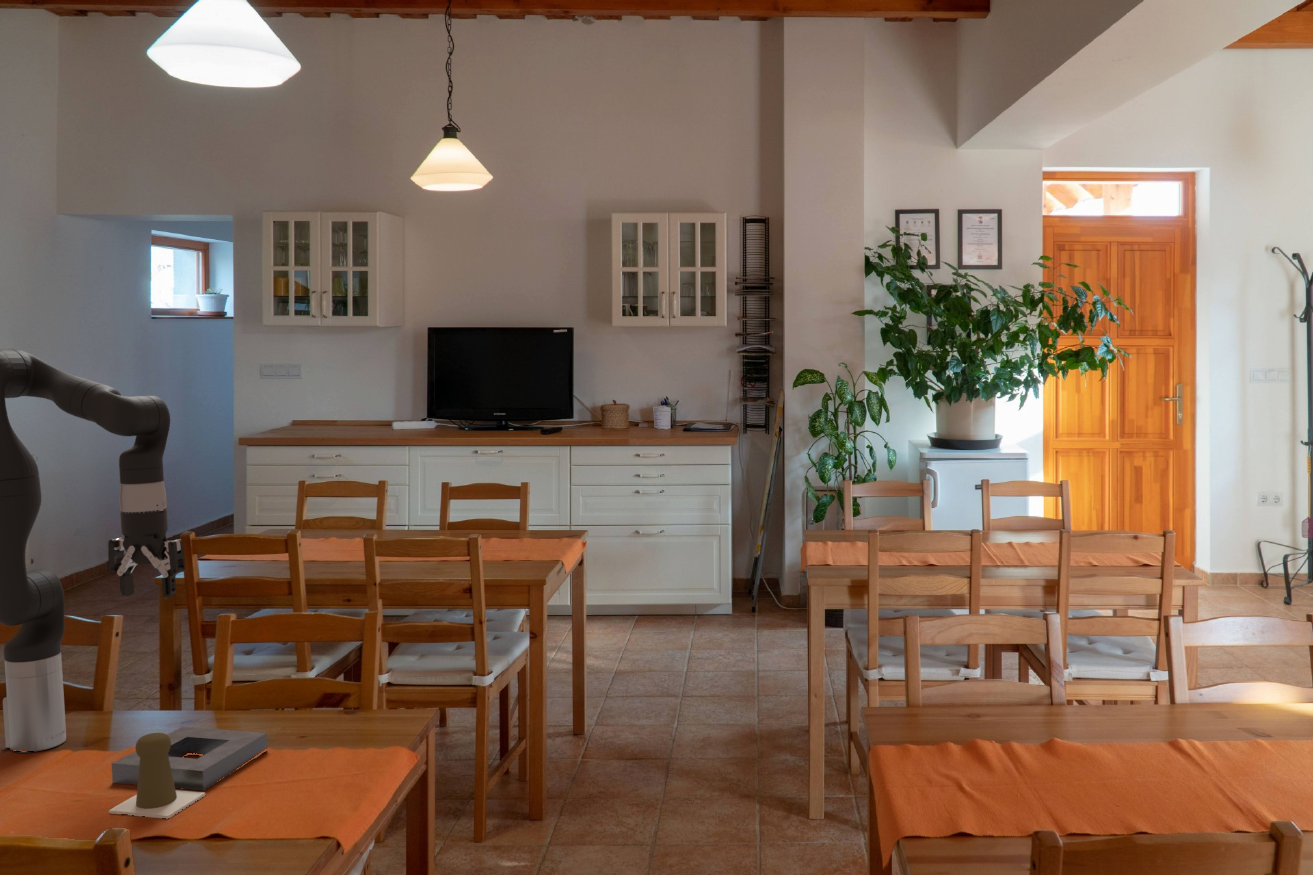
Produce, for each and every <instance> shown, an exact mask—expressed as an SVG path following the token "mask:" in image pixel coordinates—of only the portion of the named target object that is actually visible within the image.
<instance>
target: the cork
mask: <svg viewBox="0 0 1313 875" xmlns="http://www.w3.org/2000/svg"><path fill="white" fill-rule="evenodd" d="M170 747H171V740H170V737H169V736H168V735H167V733H164V732H151V733H148V734H145V735H142V736H141V737H140V738H138V739H137V741H136V742H135V751H136V753H137V755H138V756H139V757H140V764H139V775H138V785H137V788H136V789H137V790H136V794H137V798H136V806H137V807H139V808H143V809H152V808H158V807H162V806H165V805H168V804H170V803H172V802H174V801H175V800H176V798H177V795H176V790H177V789H175V786H174V781H173V776H172V771H171V766H170V761H169V756H168V752H169V750H170Z"/></svg>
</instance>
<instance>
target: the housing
mask: <svg viewBox="0 0 1313 875" xmlns="http://www.w3.org/2000/svg"><path fill="white" fill-rule="evenodd" d="M166 734H167V733H166ZM167 735H168V736H169V737H170V740H171V747H170V750H169V752H168V756H169V761H170V766H171V771H172V776H173V781H174V786H175V788H183V789H182V790H185V789H191V790H190V791H196V790H205V791H207V790H208V789H209V787H210V786H211V787H213V786H214V785H216V784H217V783H216V782H217V781H219V780H220V779H222V778H223V777H225V776H227V775H229V774H230V773H232V772H233V771H235V770H236V769H237V768H239V767H241V766H242V765H243V764H245V763H246V762H248V761H249V760H251V759H252V758H254V757H255V756H256V755H258V754H259V753H261V752H262V751H264V750H265V749H268V733H267V732H261V731H260V732H259V731H257V732H256V731H247V730H246V731H245V730H232V729H231V730H229V729H217V728H206V727H205V728H204V727H203V728H202V727H191V726H190V727H189V726H181V727H180V728H177V729H174V730H173V731H171V732H170V733H168V734H167ZM187 753H192V754H193V753H195V754H196V753H197V754H203V756H199V757H198V758H194V757H193V758H191V757H184V758H182V757H183V756H184V755H186V754H187ZM139 764H140V757H139V756H138V755H137V753H136V750H134V751H132V752H130V753H129V754H127V755H124V756H123V757H121V758H119V759H117V760H115V761H112V762H111V776H112V778H111V779H112V784H120V785H121V784H122V785H130V784H134V785H133V786H138V775H139ZM235 772H236V771H235ZM232 774H233V773H232ZM230 775H231V774H230ZM230 775H229V776H230ZM227 777H228V776H227ZM222 780H223V779H222ZM219 782H220V781H219ZM215 783H216V784H215ZM213 784H214V785H213ZM212 785H213V786H212ZM211 787H210V788H211ZM207 788H208V789H207Z"/></svg>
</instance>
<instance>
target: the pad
mask: <svg viewBox="0 0 1313 875" xmlns="http://www.w3.org/2000/svg"><path fill="white" fill-rule="evenodd" d="M175 790H176V795H177V798H176V800H175V801H174V802H172V803H170V804H168V805H165V806H162V807H158V808H152V809H143V808H139V807H137V806H136V798H137V793H136V794H135V795H133V796H132V797H130V798H128V799H126V800H125V801H122V802H120V803H119V804H118V805H116V806H113V808H112V807H111V809H109V810H108V814H113V815H121V814H128V815H127V816H132V815H134V817H142V816H145V817H144V818H153V819H162V818H166V819H165V820H169V819H171V818H172V817H174V816H176V815H177V814H179V813H180V812H182V811H183V810H185V809H186V807H187V808H188V807H190V806H191V805H193V804H194V803H196V802H198V801H200V800H201V799H203V798H205V797H206V796H205V795H206V792H205V791H194V790H183V789H175ZM202 797H203V798H202ZM197 800H198V801H197ZM195 801H196V802H195ZM189 805H190V806H189ZM182 809H183V810H182ZM178 812H179V813H178ZM175 814H176V815H175ZM168 818H169V819H168Z"/></svg>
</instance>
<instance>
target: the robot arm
mask: <svg viewBox="0 0 1313 875" xmlns="http://www.w3.org/2000/svg"><path fill="white" fill-rule="evenodd" d="M20 397H29V398H30V397H33V398H38V399H46V400H49V401H52V402H53V403H54V404H55V405H56V407H58V408H59V410H61V411H63V412H65V413H67V414H68V415H71V416H74V417H76V418H79V419H82V420H85V421H89V422H93V423H95V424H96V425H98V426H99V427H100V428H103V429H104V430H106V431H107V432H109V433H111V434H114V435H116V436H121V437H135V441H134V444H133V446H132V447H131V448H129V449H126V450H124V451H123V452H121V453H120V455H119V459H118V469H119V483H120V485H119V515H120V530H121V531H120V532H121V534H122V535H123V536H124V538H123V537H117V538H111V539H109V540H108V541H107V545H108V546H107V549H108V550H107V552H108V553H107V554H108V555H107V556H108V557H107V558H108V559H107V560H108V562H107V565H108V572H109V573H115V574H117V575H118V577H119V590H120V593H121V595H122V597H129V596H133V595H134V594H135V584H134V574H132V573H133V571H134V569H135V568H136V566H137V565H139V564H145V565H152V566H153V567H154V569H156V570H158V572H159V573H160V574H161V575H162V577H161V589H162V598H163V599H169V598H172V597H173V598H174V596H175V594H176V593H177V582H176V577H177V575H179V574H182V573H185V572H186V570H187V569H186V568H187V567H186V561H185V560H186V558H185V550H184V541H183V540H182V539H181V538H178V539H174V540H168V537H167V533H168V529H169V525H168V524H169V523H168V506H167V493H166V492H167V491H166V486H165V481H164V480H165V479H164V477H165V476H164V466H163V465H164V463H163V462H164V461H163V458H164V454H165V450H166V446H167V441H168V436H169V432H170V426H171V414H170V410H169V408H168V405H167V404H166V402H165V401H164V400H163V399H162V398H160V397H158V396H156V395H135V396H133V395H132V396H125V395H122V394H121V393H120V392H119V391H118V390H117V389H116V388H114V387H112V386H109V385H108V384H107V385H106V384H104V383H100V382H97V381H93V380H90V379H88V378H84V377H81V376H78V375H74V374H71V373H69V372H67V371H64V370H61V369H59V368H58V367H56V366H53V365H51V364H49V363H47V362H45V361H44V360H42V359H41V358H39V357H37V356H35V355H33V354H32V353H29V352H27V351H24V350H21V349H19V348H18V349H17V348H0V624H2V625H3V626H4V625H5V626H7V627H13V626H19V625H21V626H20V628H19V629H18V631H17V632H16V634H14V636H13V637H11V638H10V639H9V640H8V641H7V642H6V643H5V644H4V646H3V658H4V659H3V660H4V671H5V674H4V675H5V686H6V688H5V689H6V697H4V698H3V699H2V712H3V724H4V725H3V726H4V740H5V748H8V749H10V750H11V751H12V750H16V751H20V750H21V751H34V752H39V751H44V750H49V749H51V748H52V749H53V748H54V747H57V746H60V745H61V744H63V743H65V742H66V740H67V728H66V727H67V726H66V713H65V712H66V710H65V709H66V708H65V696H64V680H63V679H64V678H63V663H62V648H61V647H62V642H63V639H64V636H65V592H64V588H63V585H62V582H61V580H60V578H59V577H58V576H57V574H56V573H55V572H53V571H51V570H50V569H45V568H38V569H32V570H29V571H27V566H26V549H27V543H28V540H29V536H30V534H31V532H32V529H33V527H34V525H35V522H36V520H37V517H38V515H39V512H40V508H41V506H42V505H41V504H42V490H41V480H40V472H39V467H38V465H37V463H36V461H35V459H34V457H33V455H32V454H31V453H30V451H29V450H28V448H27V447H26V446H25V445H24V443H23V442H22V441H21V440H20V438H19V437H18V435H17V433H15V430H14V429H13V427H12V425H11V423H10V419H9V417H8V416H9V415H8V411H7V405H6V399H14V398H20ZM124 552H126V553H124Z"/></svg>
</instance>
